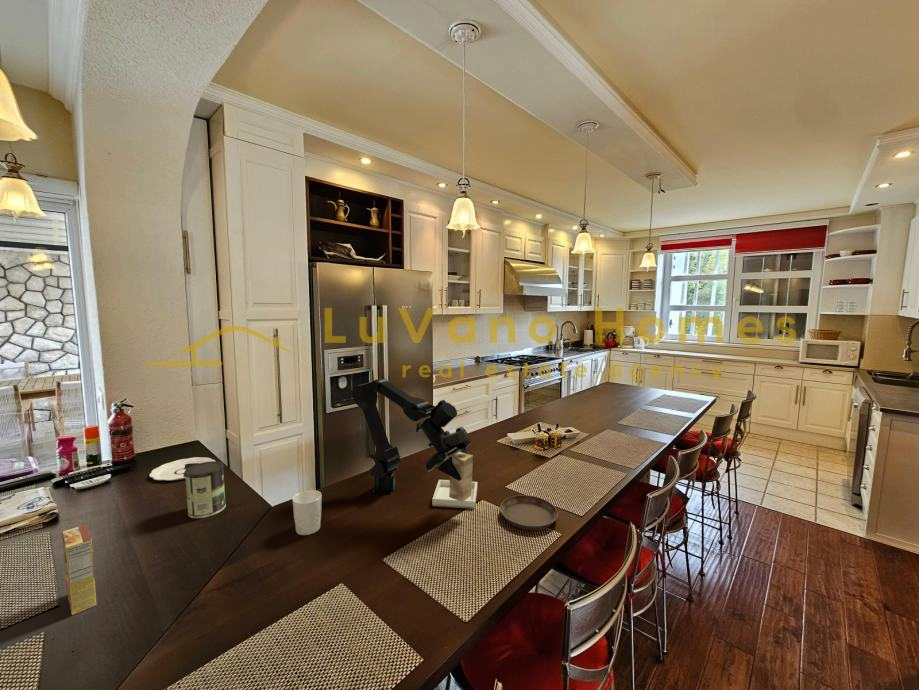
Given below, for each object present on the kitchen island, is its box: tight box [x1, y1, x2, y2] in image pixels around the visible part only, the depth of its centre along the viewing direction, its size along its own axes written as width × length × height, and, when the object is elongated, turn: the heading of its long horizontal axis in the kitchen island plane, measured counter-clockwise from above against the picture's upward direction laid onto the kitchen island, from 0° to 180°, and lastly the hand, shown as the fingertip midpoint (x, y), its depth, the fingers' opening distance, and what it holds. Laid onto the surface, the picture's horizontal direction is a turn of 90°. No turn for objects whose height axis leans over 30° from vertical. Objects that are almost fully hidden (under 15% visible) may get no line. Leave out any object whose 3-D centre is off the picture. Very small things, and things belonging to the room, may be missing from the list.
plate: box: [148, 456, 216, 481], centre depth 151 cm, size 21×21×2 cm
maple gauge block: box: [449, 452, 474, 502], centre depth 119 cm, size 5×5×13 cm
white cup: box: [292, 489, 322, 536], centre depth 113 cm, size 8×8×10 cm
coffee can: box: [184, 460, 227, 519], centre depth 123 cm, size 10×10×14 cm
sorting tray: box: [431, 479, 478, 510], centre depth 133 cm, size 14×14×2 cm
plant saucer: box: [499, 494, 559, 531], centre depth 121 cm, size 18×18×3 cm
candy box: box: [61, 524, 97, 616], centre depth 85 cm, size 9×4×15 cm, turn 50°
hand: (464, 476), depth 119 cm, fingers closed on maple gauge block, 5 cm apart
